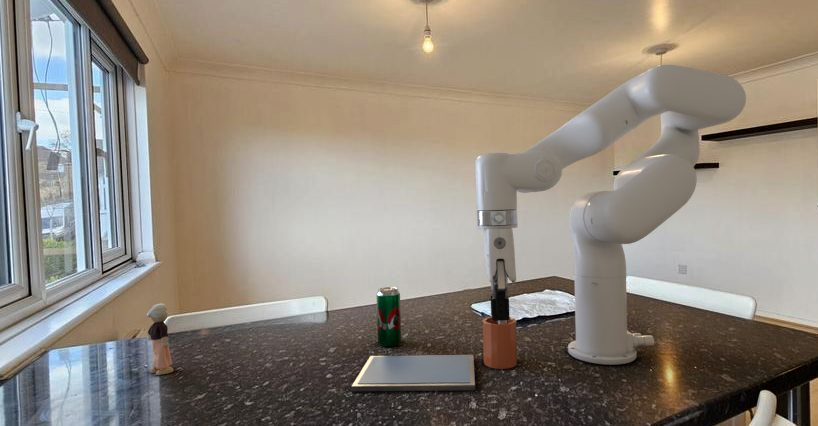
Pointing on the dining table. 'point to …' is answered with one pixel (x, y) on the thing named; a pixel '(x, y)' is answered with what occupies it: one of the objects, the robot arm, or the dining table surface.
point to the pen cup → (499, 343)
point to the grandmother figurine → (159, 340)
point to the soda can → (388, 317)
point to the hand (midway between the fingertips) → (500, 317)
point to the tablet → (417, 373)
